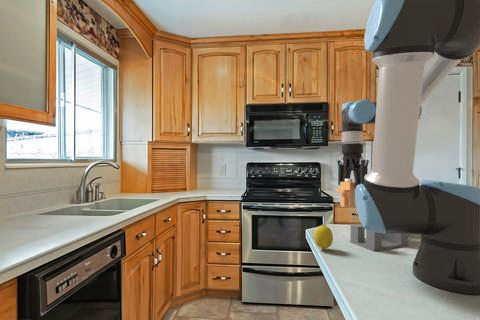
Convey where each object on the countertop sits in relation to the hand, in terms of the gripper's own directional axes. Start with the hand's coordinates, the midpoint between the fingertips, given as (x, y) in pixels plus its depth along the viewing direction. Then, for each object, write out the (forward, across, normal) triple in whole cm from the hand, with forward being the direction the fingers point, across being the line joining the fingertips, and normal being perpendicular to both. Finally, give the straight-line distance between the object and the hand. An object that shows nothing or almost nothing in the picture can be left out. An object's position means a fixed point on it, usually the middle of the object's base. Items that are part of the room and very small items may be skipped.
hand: (352, 205), depth 104 cm
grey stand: (+12, -12, 0) cm, 16 cm away
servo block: (0, 0, 0) cm, 0 cm away
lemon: (+12, -10, +21) cm, 26 cm away
